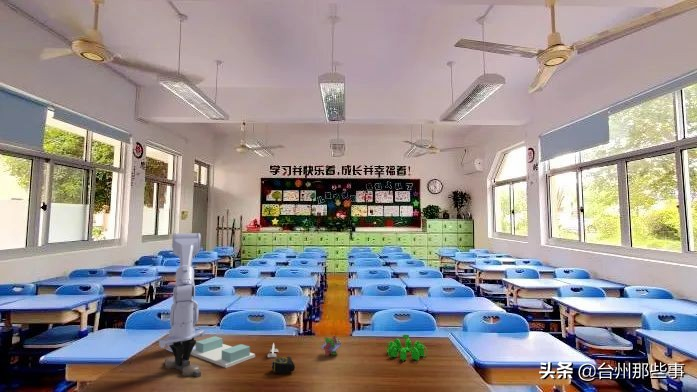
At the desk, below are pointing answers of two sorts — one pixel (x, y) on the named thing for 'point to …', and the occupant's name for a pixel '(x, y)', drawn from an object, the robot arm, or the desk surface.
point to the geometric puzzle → (331, 345)
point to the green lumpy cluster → (406, 349)
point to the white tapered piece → (273, 351)
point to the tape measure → (283, 365)
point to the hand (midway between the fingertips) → (182, 364)
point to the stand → (221, 352)
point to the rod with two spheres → (184, 367)
